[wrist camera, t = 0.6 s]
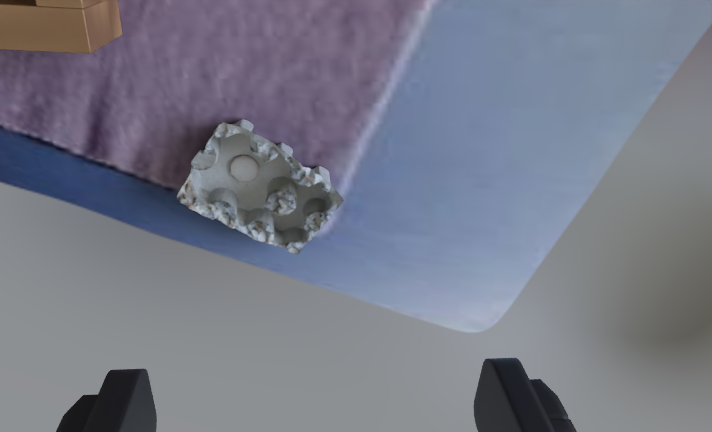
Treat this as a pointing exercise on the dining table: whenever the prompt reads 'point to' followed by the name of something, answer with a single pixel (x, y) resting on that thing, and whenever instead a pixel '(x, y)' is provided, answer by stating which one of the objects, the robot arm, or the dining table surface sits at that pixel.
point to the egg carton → (259, 188)
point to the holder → (58, 25)
